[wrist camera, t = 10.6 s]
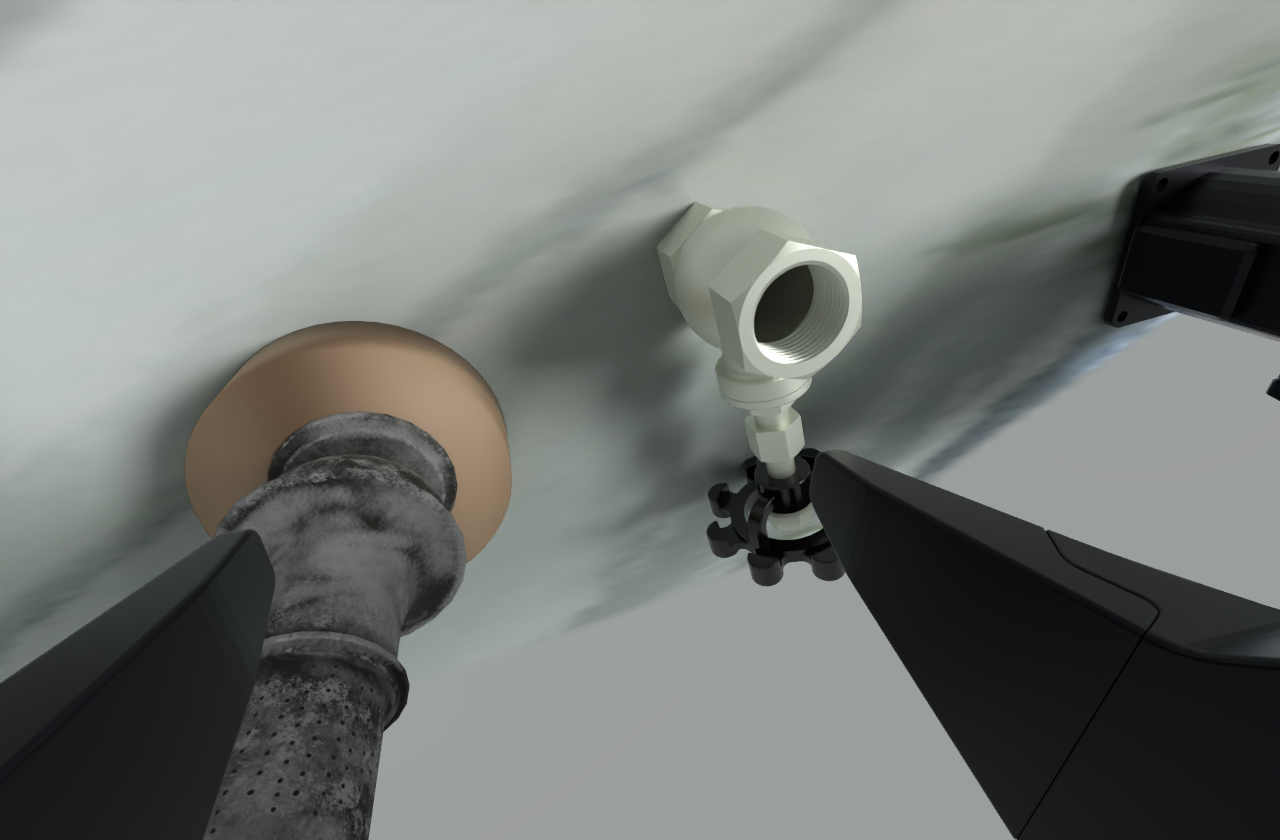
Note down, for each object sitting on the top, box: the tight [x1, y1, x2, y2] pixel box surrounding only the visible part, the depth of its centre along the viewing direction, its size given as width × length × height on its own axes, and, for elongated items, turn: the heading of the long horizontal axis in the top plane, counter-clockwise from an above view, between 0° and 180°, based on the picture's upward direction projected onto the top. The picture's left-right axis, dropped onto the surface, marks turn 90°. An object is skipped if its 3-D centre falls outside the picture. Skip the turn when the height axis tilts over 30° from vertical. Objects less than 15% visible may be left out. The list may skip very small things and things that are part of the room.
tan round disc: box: [185, 321, 512, 563], centre depth 18 cm, size 9×9×2 cm
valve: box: [656, 202, 862, 586], centre depth 19 cm, size 7×7×12 cm
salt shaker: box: [203, 411, 467, 840], centre depth 12 cm, size 6×6×12 cm
